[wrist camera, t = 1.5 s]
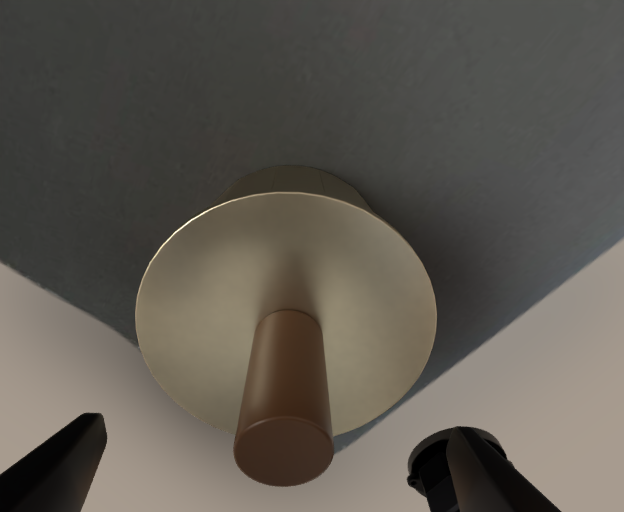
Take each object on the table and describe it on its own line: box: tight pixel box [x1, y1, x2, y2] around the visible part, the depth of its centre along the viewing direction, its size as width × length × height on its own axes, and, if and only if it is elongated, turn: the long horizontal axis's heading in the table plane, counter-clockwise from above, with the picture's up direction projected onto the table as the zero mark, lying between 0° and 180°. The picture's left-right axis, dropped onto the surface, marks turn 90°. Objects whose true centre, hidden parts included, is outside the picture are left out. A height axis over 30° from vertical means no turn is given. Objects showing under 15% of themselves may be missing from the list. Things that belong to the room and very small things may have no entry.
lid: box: [135, 188, 437, 487], centre depth 11 cm, size 10×10×6 cm
